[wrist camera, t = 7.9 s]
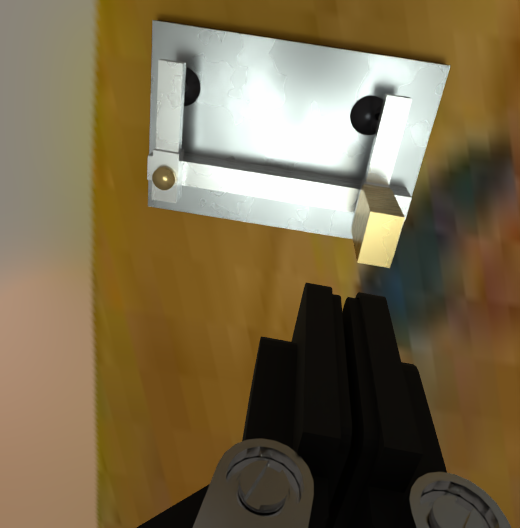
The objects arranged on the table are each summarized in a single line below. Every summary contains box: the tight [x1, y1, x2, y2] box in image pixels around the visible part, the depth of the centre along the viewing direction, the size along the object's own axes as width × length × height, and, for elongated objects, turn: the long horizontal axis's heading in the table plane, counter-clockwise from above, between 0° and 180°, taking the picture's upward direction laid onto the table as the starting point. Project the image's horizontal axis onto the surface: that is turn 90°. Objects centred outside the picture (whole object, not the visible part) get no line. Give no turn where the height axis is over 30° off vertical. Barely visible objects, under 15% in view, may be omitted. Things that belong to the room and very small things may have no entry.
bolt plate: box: [147, 20, 450, 243], centre depth 30 cm, size 12×18×5 cm, turn 82°
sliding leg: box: [351, 93, 412, 268], centre depth 28 cm, size 8×2×8 cm, turn 172°
